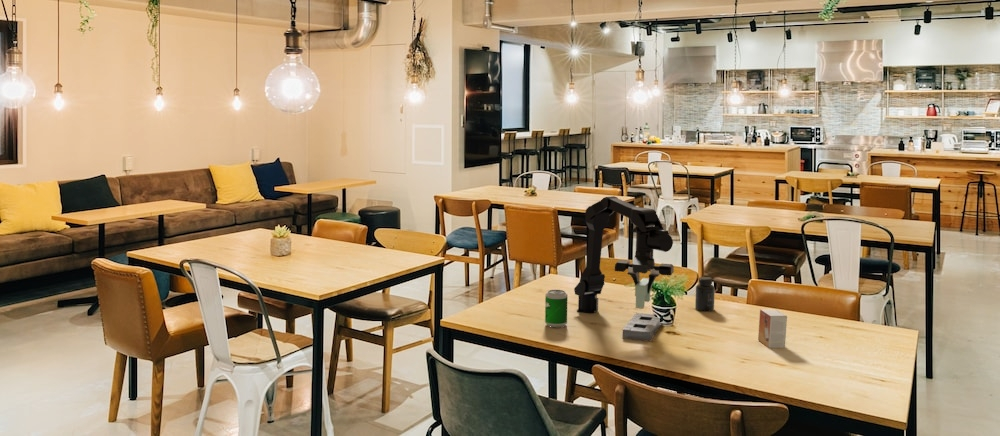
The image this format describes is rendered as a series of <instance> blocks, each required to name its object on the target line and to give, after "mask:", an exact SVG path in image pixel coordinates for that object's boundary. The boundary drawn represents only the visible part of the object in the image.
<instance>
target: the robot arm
mask: <svg viewBox="0 0 1000 436" xmlns="http://www.w3.org/2000/svg"><path fill="white" fill-rule="evenodd" d="M614 212H615V213H617V214H619V215H620V216H624V217H626V218H628V219H629V221H630V223H631V224H633V225H634V226H635V227H634V228H633V229H632V230H631V232H632V233H635V235H636V237H635V240H636V241H635V255H634V257H633V259H632V263H631V262H630V260H622V259H621V260H618V261H617V262H616V263H615V264H614V271H615V272H620V273H621V272H623V273H624V272H625V271H626V270H627V273H626V274H627V275H628V276H630V277H631V278H632V280H633V283H634V286H636V285H637V284H638V283H639V282H640V281H641V280H640V273H641V274H647V273H648V272H650V273H649V274H648V279H649V282H648V294H649V292H650V293H651V290H652V286H653V284H654V282H655V280H656V278H657V277H658V278H659V276H660V275H661V276H672V275H673V273H674V272H675V271H674V269H675V266H674V264H672V263H664V262H663V263H661V264H660V265H655V264H656V263H655V258H654V250H655V251H660V252H664V253H666V252H669V251H671V249H672V247H673V245H674V244H673V243H674V240H673V237H672V235H670V234H669V230H668V229H667V230H665V229H664V227H663V224H662V222H661V221H660V217H659V216H658V214H657V211H656V210H655V209H653V208H650V207H649V208H648V207H639V206H636V205H634V204H632V203H629V202H627V201H624V200H622V199H621V198H618V196H615V195H614V196H612V195H611V196H605V197H603V198H602V199H600V200H599V201H597V202H595V203H593V204H592V205H590V206H588V207H586V209H585V212H584V213H585V223H586V225H587V228H588V239H587V249H586V250H587V252H586V261H585V268H584V269H583V270H582V272H581V274H580V278H579V282H578V283H577V285H575V287H574V289H573V290H574V295H576V296H578V302H577V303H578V306H577V307H578V308H577V309H576V312H580V313H590V314H595V312H598V310H599V298H598V295H601V294H602V291H603V287H604V286H605V278H606V275H605V274H604V273H602V272H603V271H602V270H601V258H602V257H601V256H602V247H603V237H604V236H603V233H604V230H605V228H606V227H607V226H608V224H609V221H610V216H611V215H613V214H614Z"/></svg>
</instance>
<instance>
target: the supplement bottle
mask: <svg viewBox="0 0 1000 436" xmlns="http://www.w3.org/2000/svg"><path fill="white" fill-rule="evenodd" d="M715 290H716V289H715V286H714V285H713V278H712V277H711V276H710V277H709V276H700V277H699V278H698V284H697V285H696V286H695V299H694V301H695V305H694V307H695V310H696V311H699V312H713V311H714V310H715V294H716V293H715Z"/></svg>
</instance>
